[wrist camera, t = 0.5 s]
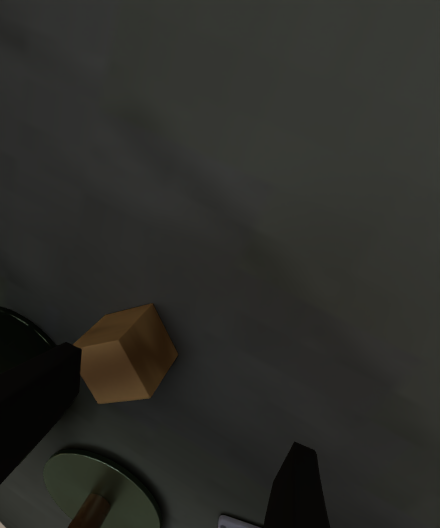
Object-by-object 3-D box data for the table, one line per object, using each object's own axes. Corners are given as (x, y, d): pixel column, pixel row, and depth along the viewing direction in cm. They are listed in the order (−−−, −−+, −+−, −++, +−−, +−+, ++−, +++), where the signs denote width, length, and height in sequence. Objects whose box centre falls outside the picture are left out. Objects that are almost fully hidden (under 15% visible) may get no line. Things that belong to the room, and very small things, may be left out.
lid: (167, 550, 34) (141, 617, 30) (62, 509, 38) (24, 564, 33) (162, 467, 29) (130, 533, 25) (41, 427, 32) (-7, 480, 28)
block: (178, 354, 24) (150, 398, 20) (131, 362, 25) (98, 404, 22) (152, 302, 23) (118, 340, 19) (105, 314, 24) (65, 350, 21)
